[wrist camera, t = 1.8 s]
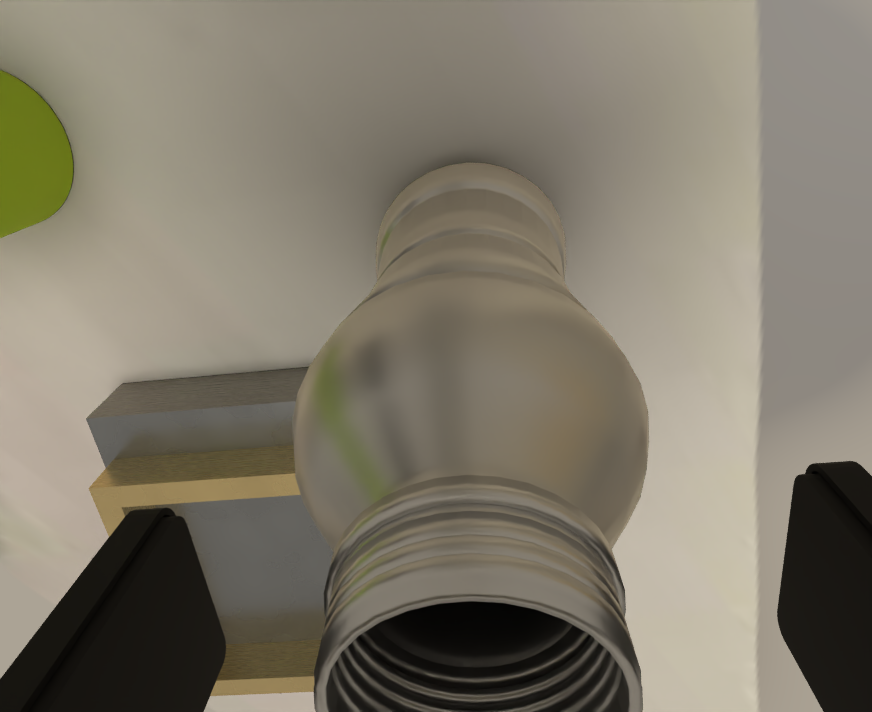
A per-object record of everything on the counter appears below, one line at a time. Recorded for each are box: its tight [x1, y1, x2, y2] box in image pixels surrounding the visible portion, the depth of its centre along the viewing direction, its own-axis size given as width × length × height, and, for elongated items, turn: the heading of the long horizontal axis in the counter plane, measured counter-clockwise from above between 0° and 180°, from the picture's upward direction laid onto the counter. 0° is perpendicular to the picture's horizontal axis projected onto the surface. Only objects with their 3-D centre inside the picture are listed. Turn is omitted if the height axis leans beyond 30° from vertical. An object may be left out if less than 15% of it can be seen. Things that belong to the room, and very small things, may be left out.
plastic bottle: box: [292, 162, 649, 712], centre depth 16 cm, size 6×7×20 cm
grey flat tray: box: [86, 367, 333, 696], centre depth 29 cm, size 16×12×5 cm
